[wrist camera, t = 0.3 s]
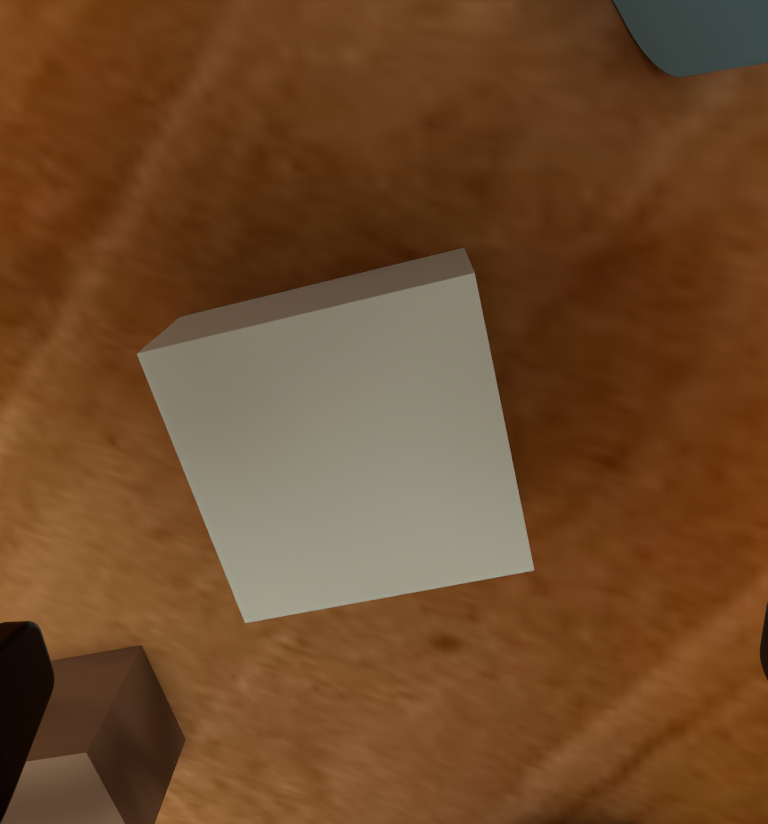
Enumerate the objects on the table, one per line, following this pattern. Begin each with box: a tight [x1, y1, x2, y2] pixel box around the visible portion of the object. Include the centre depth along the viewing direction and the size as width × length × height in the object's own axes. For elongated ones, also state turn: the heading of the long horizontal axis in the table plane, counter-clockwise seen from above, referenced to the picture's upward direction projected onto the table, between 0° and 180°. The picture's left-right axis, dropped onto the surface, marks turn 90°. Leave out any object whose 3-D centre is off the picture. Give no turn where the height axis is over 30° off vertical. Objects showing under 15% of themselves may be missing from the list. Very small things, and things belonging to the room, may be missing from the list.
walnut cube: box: [1, 645, 185, 824], centre depth 26 cm, size 5×5×5 cm
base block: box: [137, 248, 534, 623], centre depth 21 cm, size 9×9×4 cm
